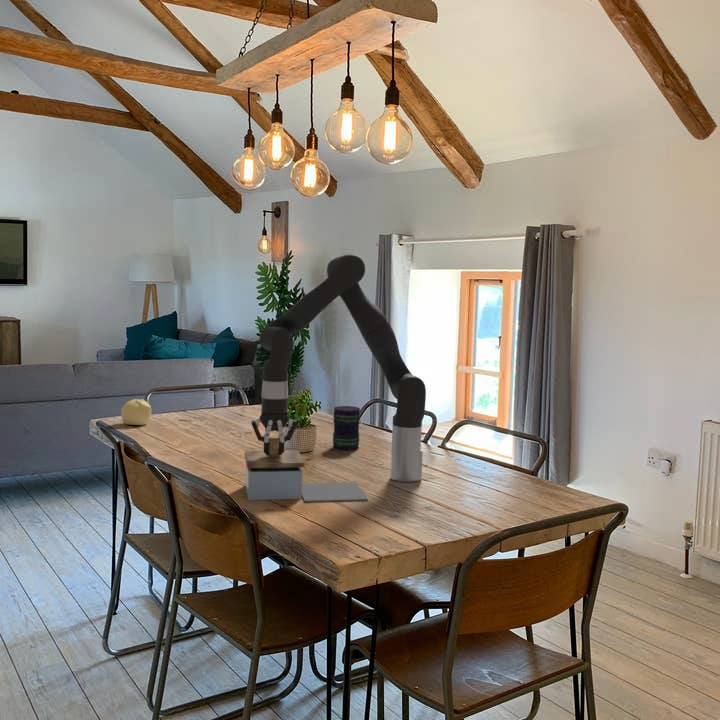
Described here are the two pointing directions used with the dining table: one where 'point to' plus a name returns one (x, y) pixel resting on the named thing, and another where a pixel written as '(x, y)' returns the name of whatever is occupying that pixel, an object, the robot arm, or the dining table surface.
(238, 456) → the dining table surface
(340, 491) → the mat
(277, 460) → the lid
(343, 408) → the storage jar
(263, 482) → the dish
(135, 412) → the pale yellow rounded lump
